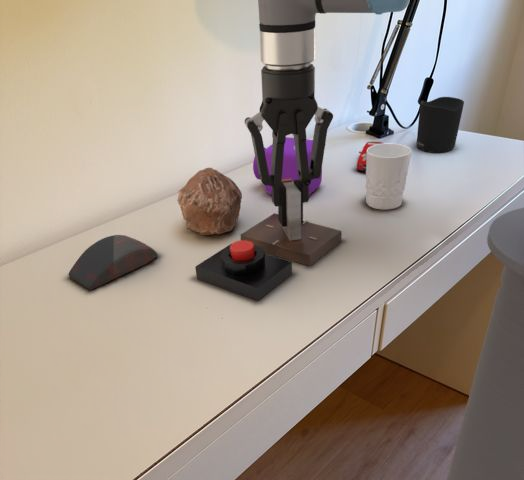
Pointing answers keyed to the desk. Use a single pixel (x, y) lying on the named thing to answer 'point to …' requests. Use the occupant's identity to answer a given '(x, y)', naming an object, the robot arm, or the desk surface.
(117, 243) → the dark grey rounded block
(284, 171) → the toy camera
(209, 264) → the button block
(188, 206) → the decorative rock
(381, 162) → the white cup
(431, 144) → the pen holder
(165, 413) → the desk surface
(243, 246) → the button
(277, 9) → the robot arm
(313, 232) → the panel
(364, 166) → the race car
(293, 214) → the tap handle
